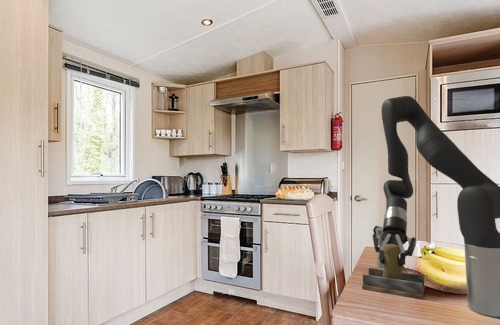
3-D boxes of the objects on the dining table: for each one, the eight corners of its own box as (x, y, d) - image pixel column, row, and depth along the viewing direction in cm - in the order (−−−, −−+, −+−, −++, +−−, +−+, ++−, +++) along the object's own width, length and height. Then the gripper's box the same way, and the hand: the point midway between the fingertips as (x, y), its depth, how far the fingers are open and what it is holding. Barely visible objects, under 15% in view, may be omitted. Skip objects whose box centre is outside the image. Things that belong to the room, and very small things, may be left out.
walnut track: (424, 286, 98) (424, 274, 99) (422, 299, 87) (421, 285, 88) (370, 278, 108) (370, 266, 108) (362, 288, 97) (361, 276, 97)
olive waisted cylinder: (405, 282, 94) (404, 246, 95) (385, 280, 96) (384, 246, 96) (399, 275, 100) (398, 242, 101) (380, 274, 101) (379, 242, 102)
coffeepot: (410, 270, 117) (408, 223, 118) (390, 271, 115) (388, 224, 116) (384, 260, 132) (382, 219, 133) (365, 261, 130) (364, 220, 131)
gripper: (372, 214, 109) (366, 254, 98) (416, 216, 101) (415, 260, 91) (375, 227, 113) (370, 267, 103) (418, 230, 106) (417, 273, 95)
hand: (391, 263), depth 97 cm, fingers closed on olive waisted cylinder, 5 cm apart
